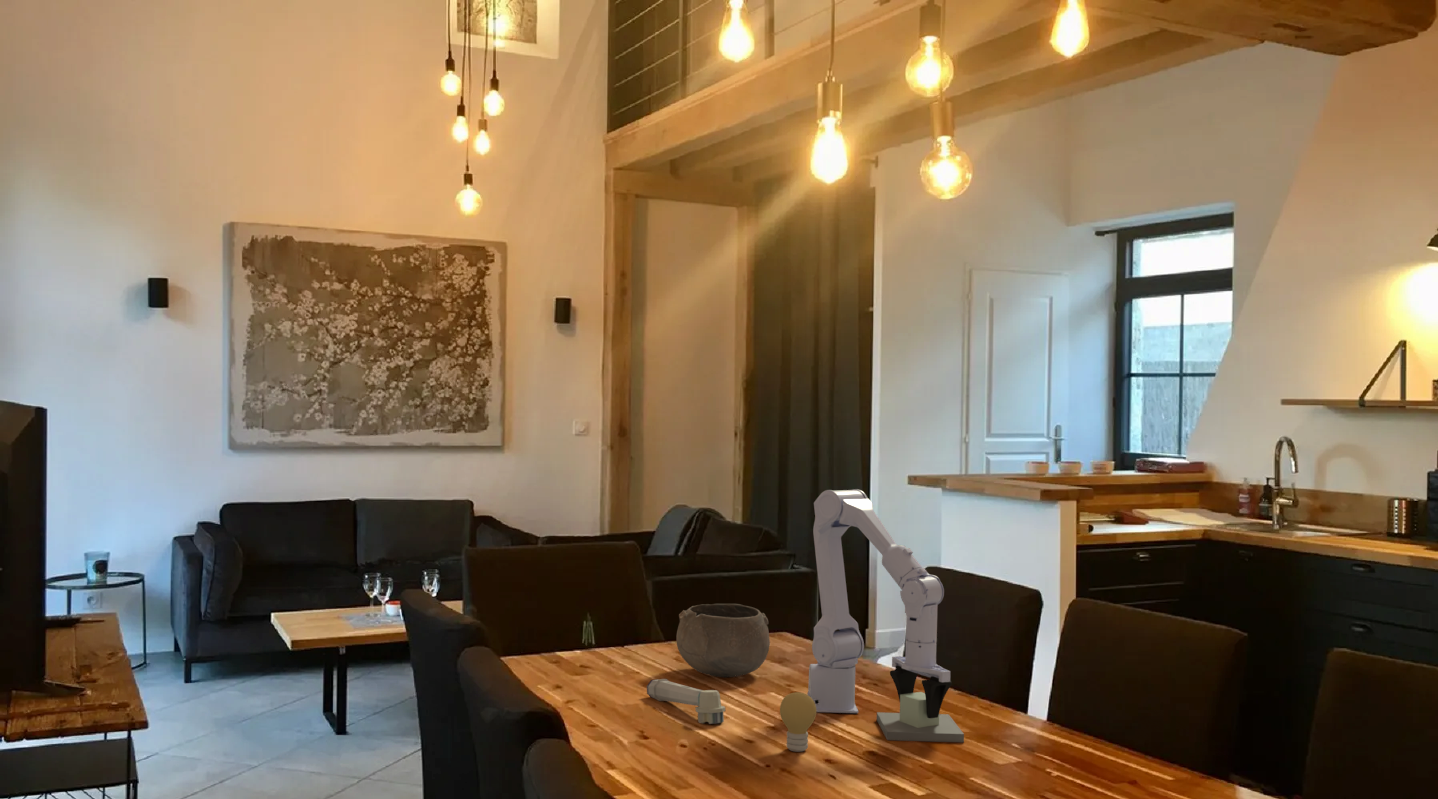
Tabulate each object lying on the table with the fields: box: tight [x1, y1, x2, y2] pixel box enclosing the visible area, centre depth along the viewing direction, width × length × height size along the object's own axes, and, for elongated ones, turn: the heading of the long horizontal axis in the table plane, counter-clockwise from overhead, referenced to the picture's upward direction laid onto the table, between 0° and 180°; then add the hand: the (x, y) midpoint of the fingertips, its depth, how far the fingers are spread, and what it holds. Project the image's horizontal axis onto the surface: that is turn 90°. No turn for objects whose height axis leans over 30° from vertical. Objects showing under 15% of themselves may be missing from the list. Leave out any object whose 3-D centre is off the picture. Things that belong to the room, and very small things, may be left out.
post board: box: [876, 711, 965, 743], centre depth 216 cm, size 14×14×5 cm
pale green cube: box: [899, 691, 939, 728], centre depth 216 cm, size 5×5×5 cm
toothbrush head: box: [646, 678, 726, 725], centre depth 227 cm, size 5×7×25 cm
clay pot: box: [676, 603, 771, 678], centre depth 259 cm, size 21×21×15 cm
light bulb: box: [779, 691, 817, 753], centre depth 201 cm, size 6×6×10 cm
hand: (919, 712), depth 216 cm, fingers open, 7 cm apart
